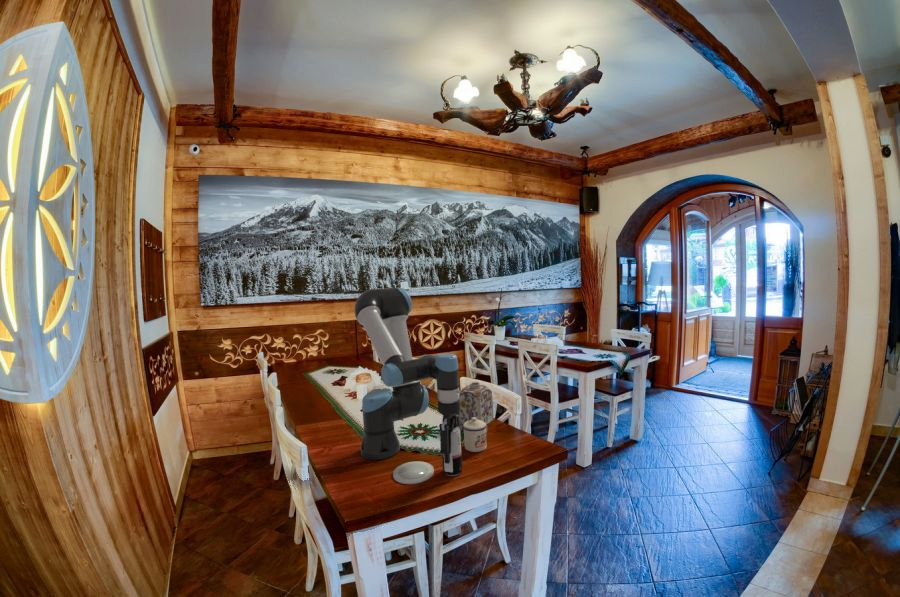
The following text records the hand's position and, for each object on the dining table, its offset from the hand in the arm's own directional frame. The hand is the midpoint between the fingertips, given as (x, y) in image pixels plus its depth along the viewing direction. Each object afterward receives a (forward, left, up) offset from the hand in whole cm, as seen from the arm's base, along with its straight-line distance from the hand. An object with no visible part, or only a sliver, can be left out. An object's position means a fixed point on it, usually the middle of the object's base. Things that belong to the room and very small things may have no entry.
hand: (452, 465), depth 128 cm
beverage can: (0, 0, -2) cm, 2 cm away
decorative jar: (-4, +44, -2) cm, 44 cm away
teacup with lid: (+3, +21, -2) cm, 21 cm away
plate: (-13, -4, -2) cm, 14 cm away
